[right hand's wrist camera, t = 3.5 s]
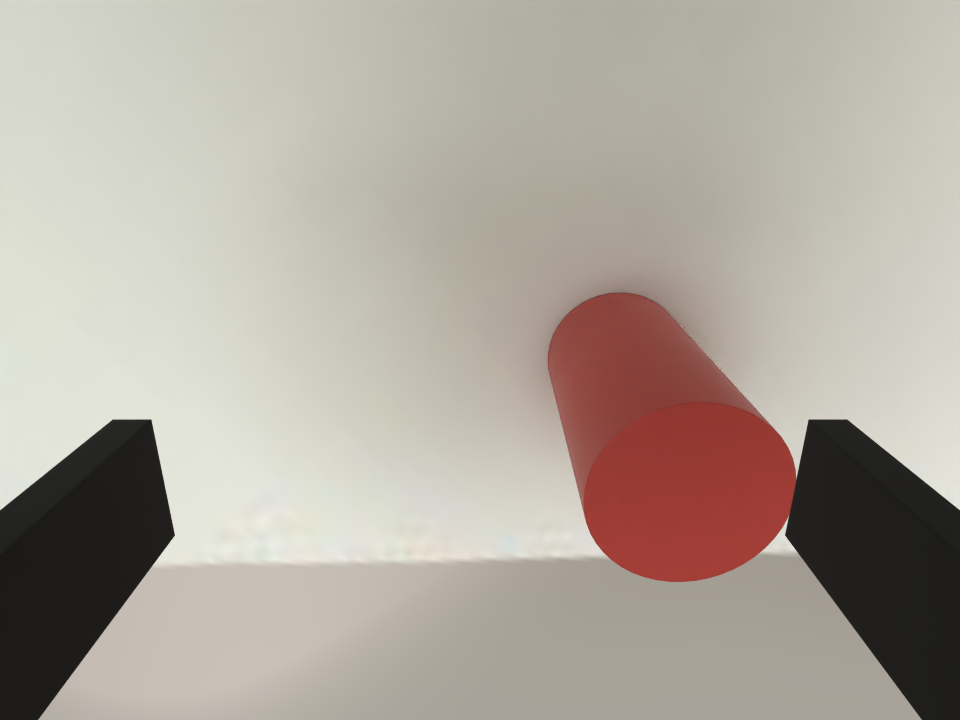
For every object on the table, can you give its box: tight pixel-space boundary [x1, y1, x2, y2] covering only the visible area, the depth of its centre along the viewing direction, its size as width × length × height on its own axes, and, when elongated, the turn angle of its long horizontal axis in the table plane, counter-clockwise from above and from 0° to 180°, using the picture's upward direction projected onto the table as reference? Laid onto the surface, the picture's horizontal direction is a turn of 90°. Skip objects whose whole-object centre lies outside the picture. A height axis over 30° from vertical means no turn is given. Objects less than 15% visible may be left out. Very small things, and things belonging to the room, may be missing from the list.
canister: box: [548, 293, 796, 582], centre depth 26 cm, size 7×7×13 cm
